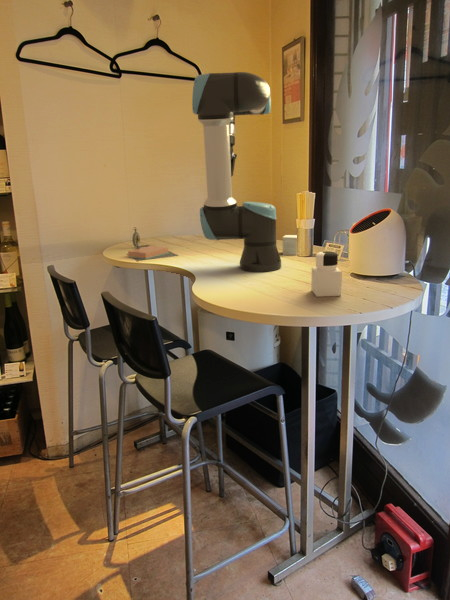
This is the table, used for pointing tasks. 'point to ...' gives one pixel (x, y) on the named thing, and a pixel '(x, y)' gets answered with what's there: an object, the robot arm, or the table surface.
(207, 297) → the table surface
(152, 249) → the tile
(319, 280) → the medicine bottle
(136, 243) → the pocket watch
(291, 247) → the product box
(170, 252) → the mat
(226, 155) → the robot arm
